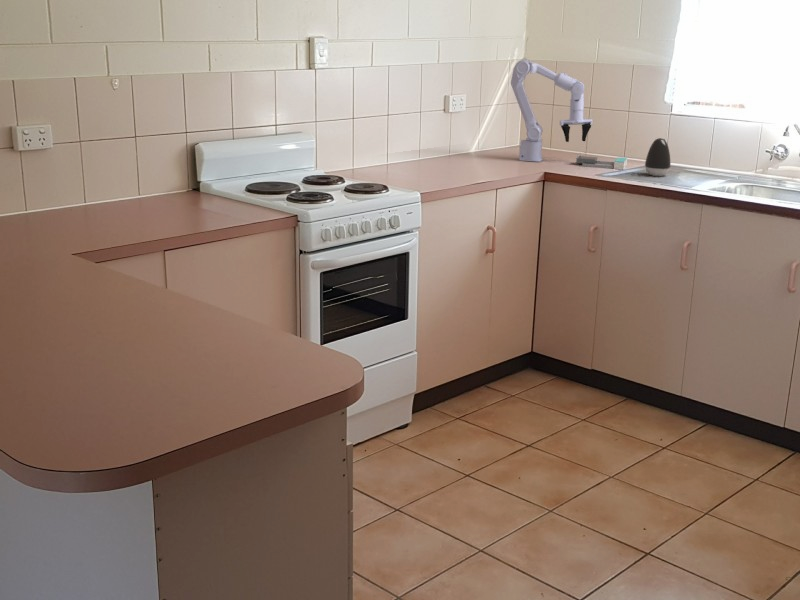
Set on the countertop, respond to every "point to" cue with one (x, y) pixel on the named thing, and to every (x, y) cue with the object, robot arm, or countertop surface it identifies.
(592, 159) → the trolley
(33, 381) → the countertop surface
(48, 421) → the countertop surface
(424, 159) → the countertop surface
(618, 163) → the dock
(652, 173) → the dark egg-shaped dome
